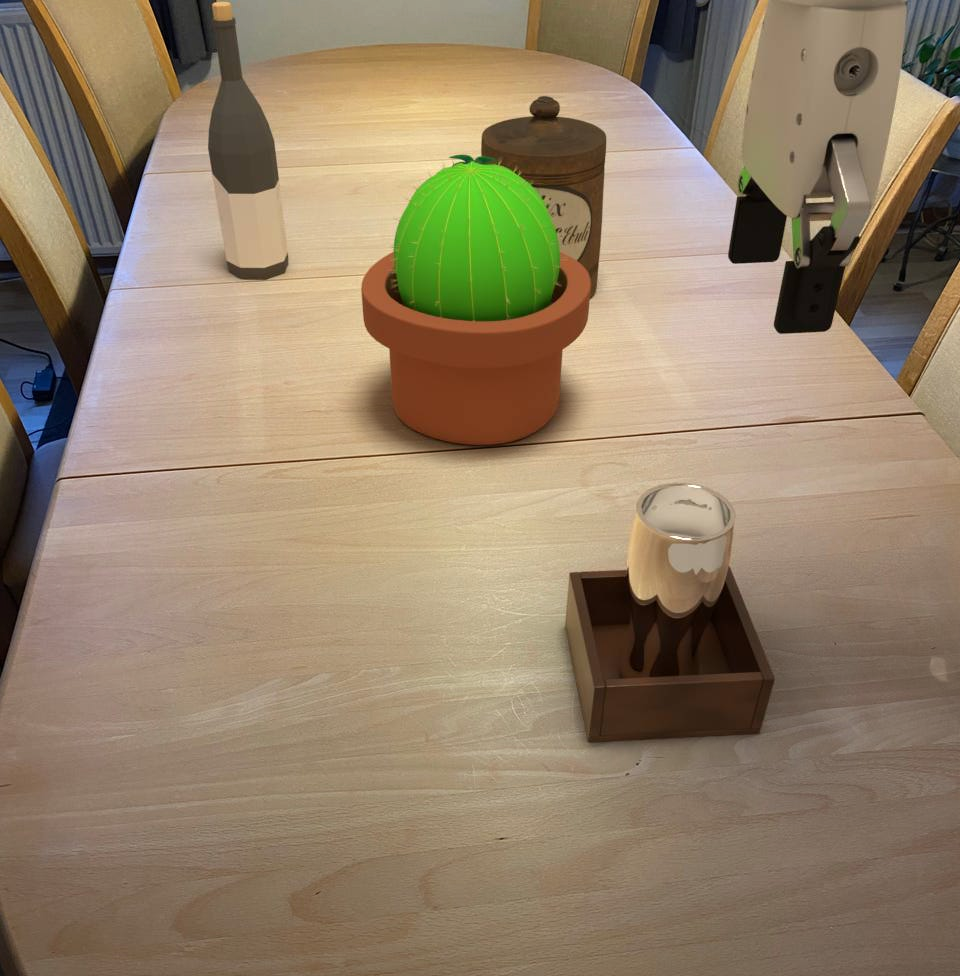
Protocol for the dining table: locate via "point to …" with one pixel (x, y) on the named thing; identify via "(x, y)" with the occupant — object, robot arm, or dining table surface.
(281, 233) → the wine bottle
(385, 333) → the potted cactus
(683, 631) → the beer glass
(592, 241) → the wooden container
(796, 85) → the robot arm
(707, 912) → the dining table surface
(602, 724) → the crate
